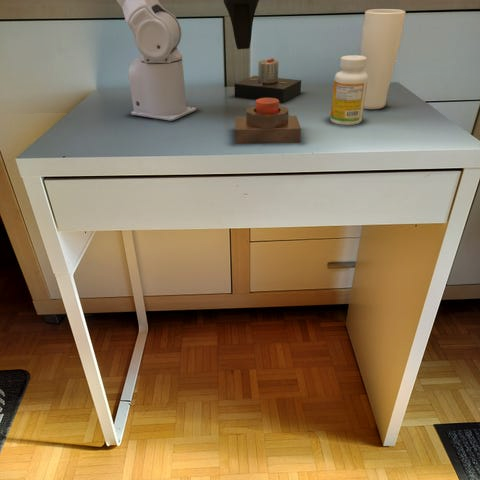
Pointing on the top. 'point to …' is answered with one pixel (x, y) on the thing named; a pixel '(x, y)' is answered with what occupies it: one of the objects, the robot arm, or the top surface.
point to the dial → (268, 71)
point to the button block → (267, 127)
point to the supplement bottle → (349, 91)
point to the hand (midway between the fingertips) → (243, 48)
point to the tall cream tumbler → (380, 52)
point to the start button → (267, 105)
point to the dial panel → (268, 89)
